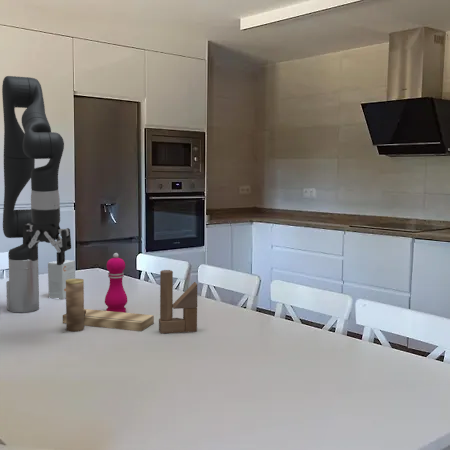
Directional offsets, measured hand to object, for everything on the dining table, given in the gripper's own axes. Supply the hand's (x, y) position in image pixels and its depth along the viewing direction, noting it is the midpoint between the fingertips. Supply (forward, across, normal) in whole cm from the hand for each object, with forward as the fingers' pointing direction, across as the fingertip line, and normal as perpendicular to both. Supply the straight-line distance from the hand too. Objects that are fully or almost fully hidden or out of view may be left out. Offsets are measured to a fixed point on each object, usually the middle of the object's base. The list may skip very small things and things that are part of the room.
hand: (47, 262), depth 159 cm
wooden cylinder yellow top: (+21, +6, +6) cm, 22 cm away
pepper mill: (+23, +8, +24) cm, 34 cm away
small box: (+27, -23, +38) cm, 52 cm away
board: (+22, +11, +13) cm, 28 cm away
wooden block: (+20, +34, +14) cm, 42 cm away
